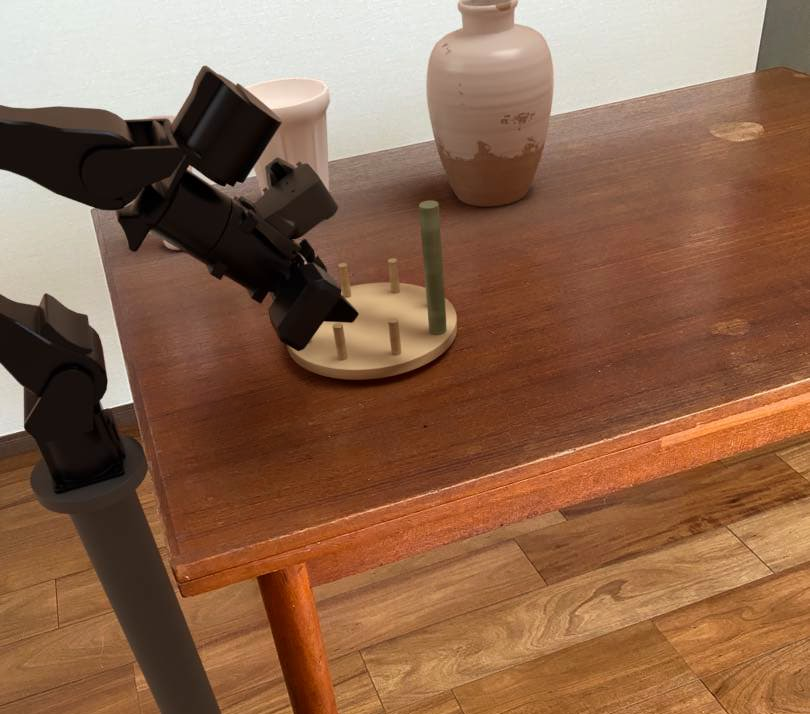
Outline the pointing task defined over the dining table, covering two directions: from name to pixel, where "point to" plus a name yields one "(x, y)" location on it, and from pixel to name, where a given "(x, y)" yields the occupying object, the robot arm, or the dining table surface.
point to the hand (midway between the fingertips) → (355, 316)
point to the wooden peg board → (388, 320)
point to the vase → (490, 103)
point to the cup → (295, 124)
